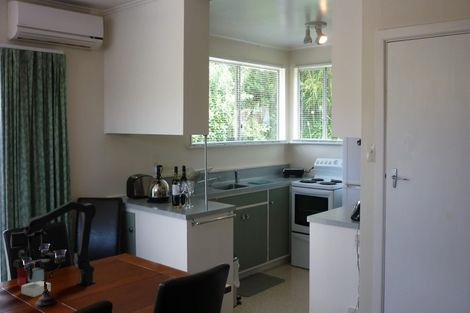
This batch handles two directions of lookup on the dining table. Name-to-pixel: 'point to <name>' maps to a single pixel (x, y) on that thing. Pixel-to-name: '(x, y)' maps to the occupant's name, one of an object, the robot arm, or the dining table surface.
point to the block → (37, 275)
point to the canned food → (23, 276)
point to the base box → (34, 288)
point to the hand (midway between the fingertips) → (36, 278)
